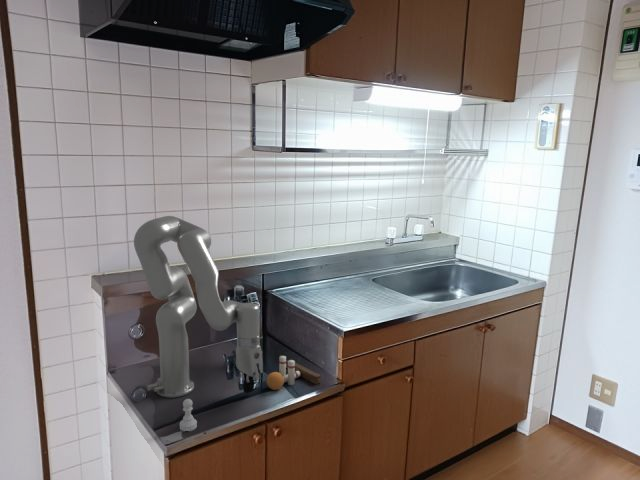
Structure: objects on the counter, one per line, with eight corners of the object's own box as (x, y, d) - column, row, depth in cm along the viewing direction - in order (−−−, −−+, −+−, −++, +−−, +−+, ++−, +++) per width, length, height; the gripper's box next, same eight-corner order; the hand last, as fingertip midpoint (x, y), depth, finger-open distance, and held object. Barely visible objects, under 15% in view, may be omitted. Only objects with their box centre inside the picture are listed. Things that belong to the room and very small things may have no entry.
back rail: (316, 384, 176) (316, 376, 176) (285, 368, 189) (285, 361, 189) (320, 383, 177) (320, 375, 177) (289, 366, 191) (289, 359, 190)
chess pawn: (190, 421, 151) (189, 393, 149) (200, 427, 147) (199, 399, 146) (176, 427, 147) (175, 399, 145) (186, 433, 144) (185, 405, 142)
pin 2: (290, 386, 175) (290, 363, 173) (286, 383, 177) (286, 361, 175) (295, 383, 176) (296, 361, 175) (291, 381, 178) (291, 359, 177)
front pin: (282, 378, 175) (300, 371, 181) (278, 376, 177) (296, 369, 182) (282, 385, 175) (300, 378, 181) (278, 382, 177) (296, 375, 183)
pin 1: (281, 381, 178) (282, 359, 177) (277, 378, 180) (277, 356, 179) (287, 379, 180) (287, 357, 179) (283, 376, 182) (283, 355, 180)
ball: (289, 384, 172) (276, 396, 171) (282, 373, 176) (269, 384, 176) (281, 376, 168) (267, 388, 167) (274, 365, 173) (260, 377, 172)
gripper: (270, 344, 161) (270, 396, 164) (245, 331, 172) (245, 380, 175) (251, 349, 156) (252, 403, 159) (226, 336, 167) (227, 386, 170)
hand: (248, 391), depth 167 cm, fingers closed
